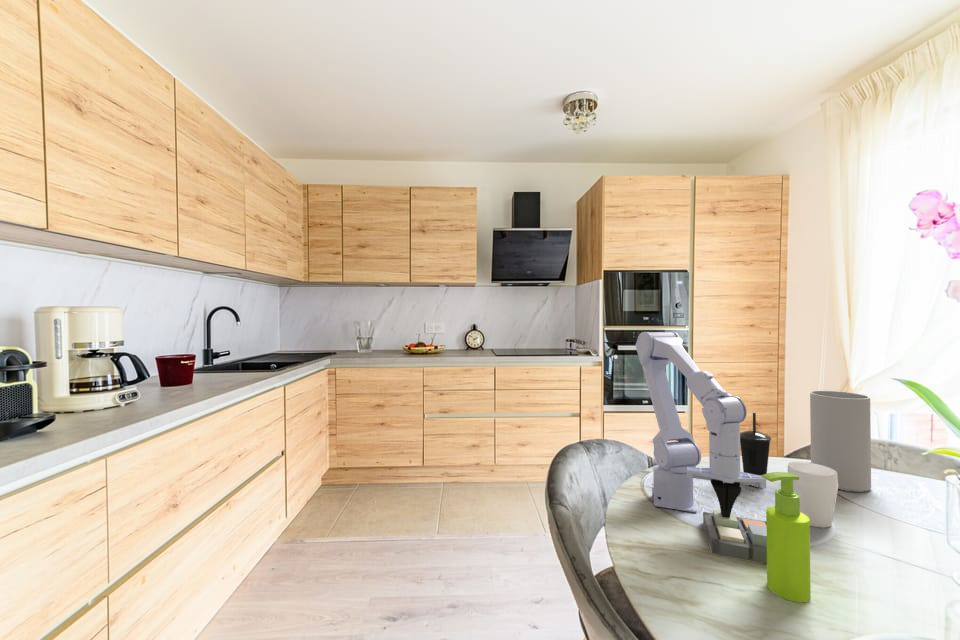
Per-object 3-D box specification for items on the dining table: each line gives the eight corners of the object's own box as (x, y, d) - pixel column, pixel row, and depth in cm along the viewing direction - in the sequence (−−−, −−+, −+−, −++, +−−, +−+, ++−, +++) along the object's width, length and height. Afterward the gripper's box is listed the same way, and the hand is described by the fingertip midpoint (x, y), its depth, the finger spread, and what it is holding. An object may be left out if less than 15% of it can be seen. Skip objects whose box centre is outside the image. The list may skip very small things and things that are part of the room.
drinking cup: (778, 489, 108) (777, 416, 108) (750, 490, 108) (749, 416, 108) (759, 478, 115) (758, 409, 115) (732, 478, 116) (732, 410, 116)
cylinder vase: (800, 474, 119) (799, 390, 119) (847, 475, 117) (846, 391, 117) (831, 492, 106) (830, 398, 106) (884, 494, 104) (883, 399, 104)
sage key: (716, 529, 85) (716, 517, 85) (713, 520, 89) (713, 509, 89) (738, 533, 83) (738, 521, 83) (734, 524, 87) (734, 512, 87)
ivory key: (720, 547, 80) (720, 535, 80) (717, 537, 84) (717, 525, 84) (744, 552, 78) (744, 539, 78) (739, 541, 82) (739, 529, 82)
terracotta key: (746, 539, 83) (746, 527, 83) (742, 529, 86) (742, 518, 86) (769, 543, 81) (769, 531, 81) (764, 533, 85) (764, 521, 85)
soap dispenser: (753, 580, 71) (752, 468, 71) (789, 578, 71) (788, 466, 71) (781, 604, 65) (779, 481, 65) (820, 601, 65) (818, 479, 65)
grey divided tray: (712, 553, 79) (712, 541, 79) (703, 522, 91) (703, 511, 91) (792, 568, 74) (792, 555, 74) (771, 533, 86) (771, 522, 86)
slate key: (753, 546, 78) (753, 533, 78) (748, 536, 81) (748, 524, 81) (777, 550, 76) (777, 537, 76) (771, 540, 80) (771, 527, 80)
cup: (849, 532, 86) (848, 477, 86) (801, 528, 88) (800, 474, 88) (822, 512, 95) (821, 462, 95) (779, 509, 97) (779, 460, 97)
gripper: (688, 454, 85) (689, 517, 85) (770, 462, 80) (771, 530, 79) (685, 444, 92) (686, 503, 92) (760, 452, 86) (761, 514, 86)
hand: (725, 515), depth 86 cm, fingers closed, pressing on sage key
